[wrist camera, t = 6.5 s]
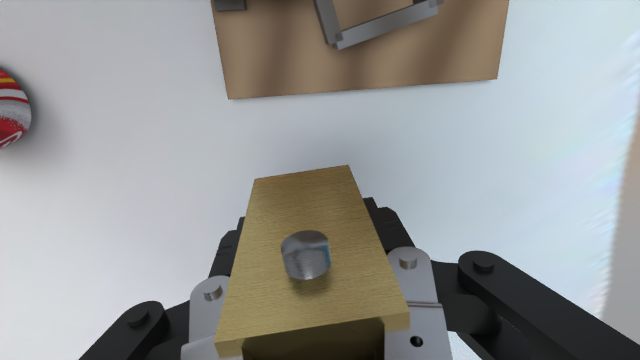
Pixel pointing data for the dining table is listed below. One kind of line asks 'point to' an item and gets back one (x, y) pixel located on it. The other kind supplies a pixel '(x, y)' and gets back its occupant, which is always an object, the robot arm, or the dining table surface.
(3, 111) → the soda can
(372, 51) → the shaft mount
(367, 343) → the tan block with knob
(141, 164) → the dining table surface
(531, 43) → the dining table surface
